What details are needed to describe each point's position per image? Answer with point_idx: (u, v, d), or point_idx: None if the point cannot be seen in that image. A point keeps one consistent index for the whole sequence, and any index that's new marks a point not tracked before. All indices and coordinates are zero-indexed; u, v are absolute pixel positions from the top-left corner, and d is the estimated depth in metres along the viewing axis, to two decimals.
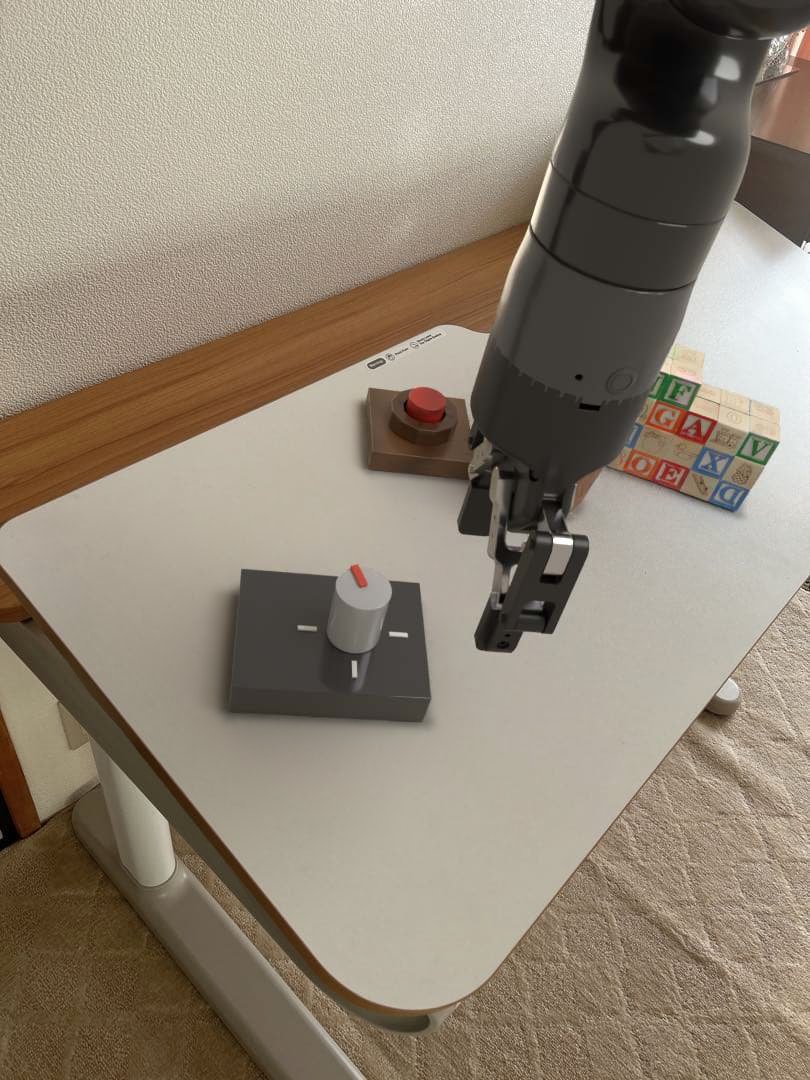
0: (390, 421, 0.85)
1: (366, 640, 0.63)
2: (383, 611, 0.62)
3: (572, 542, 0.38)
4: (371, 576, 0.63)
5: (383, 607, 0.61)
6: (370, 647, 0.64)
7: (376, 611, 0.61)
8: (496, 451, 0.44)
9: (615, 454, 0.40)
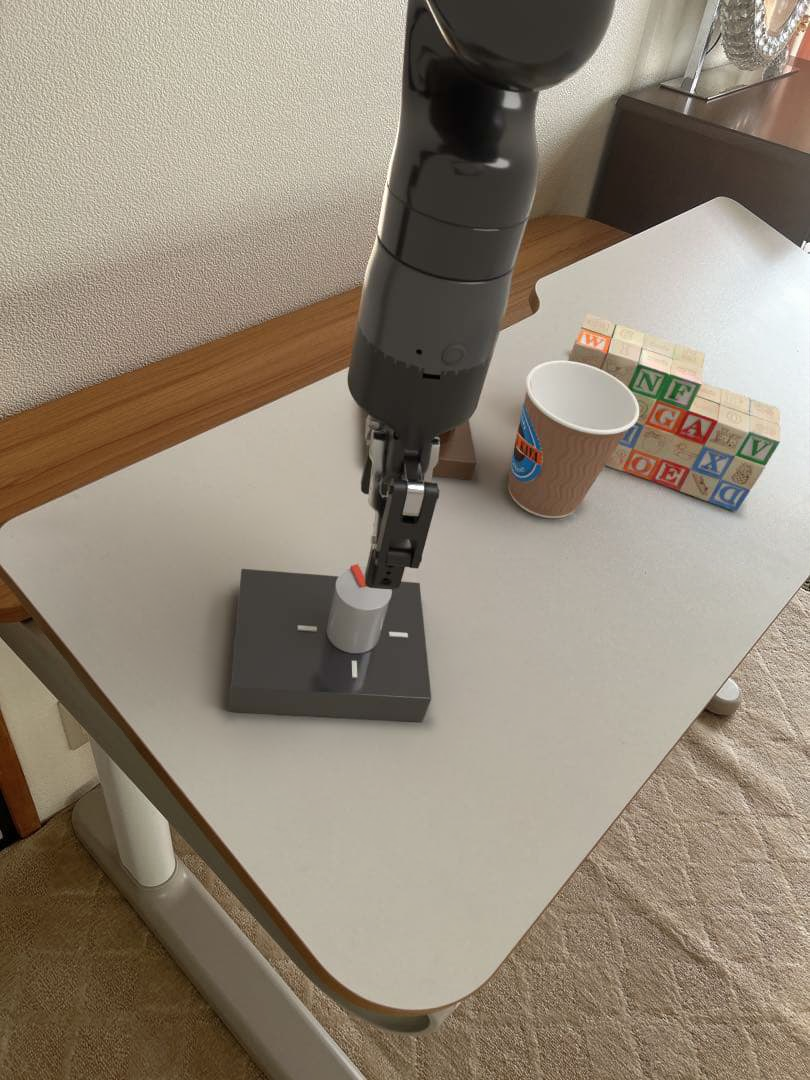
0: None
1: (366, 640, 0.63)
2: (383, 611, 0.62)
3: (424, 488, 0.47)
4: None
5: (383, 607, 0.61)
6: (370, 647, 0.64)
7: (376, 611, 0.61)
8: None
9: (464, 417, 0.48)
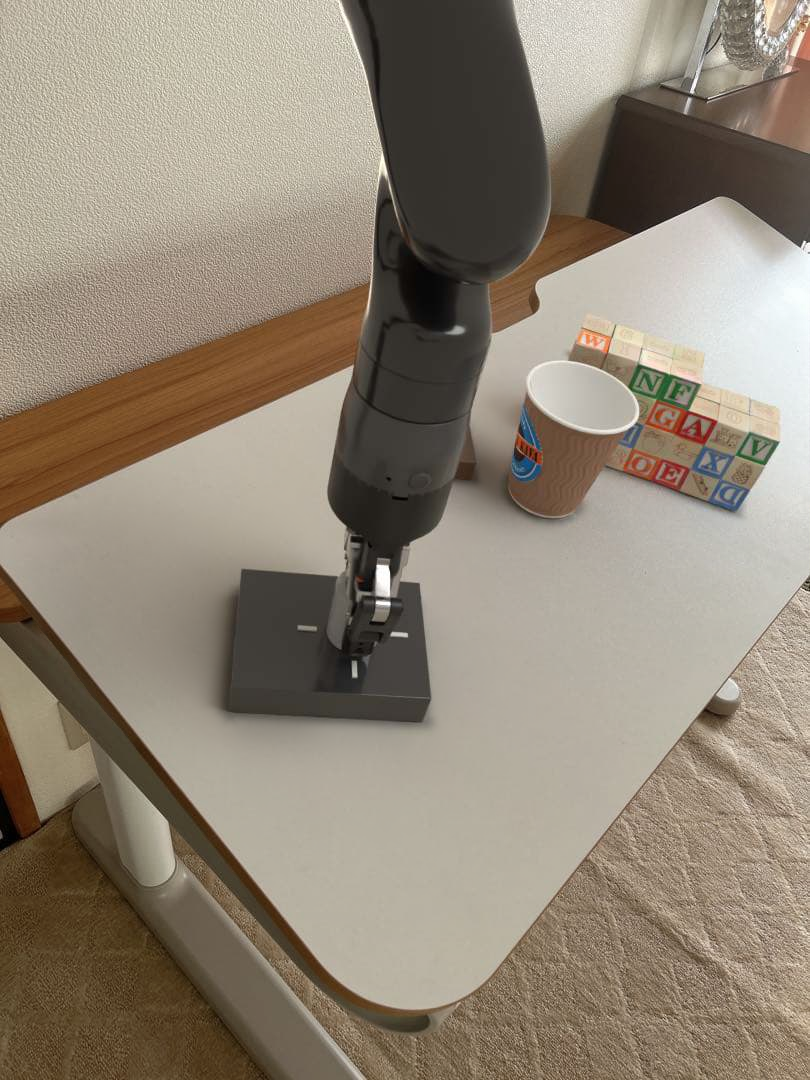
0: None
1: None
2: None
3: (390, 607, 0.54)
4: None
5: None
6: None
7: None
8: None
9: (430, 527, 0.54)
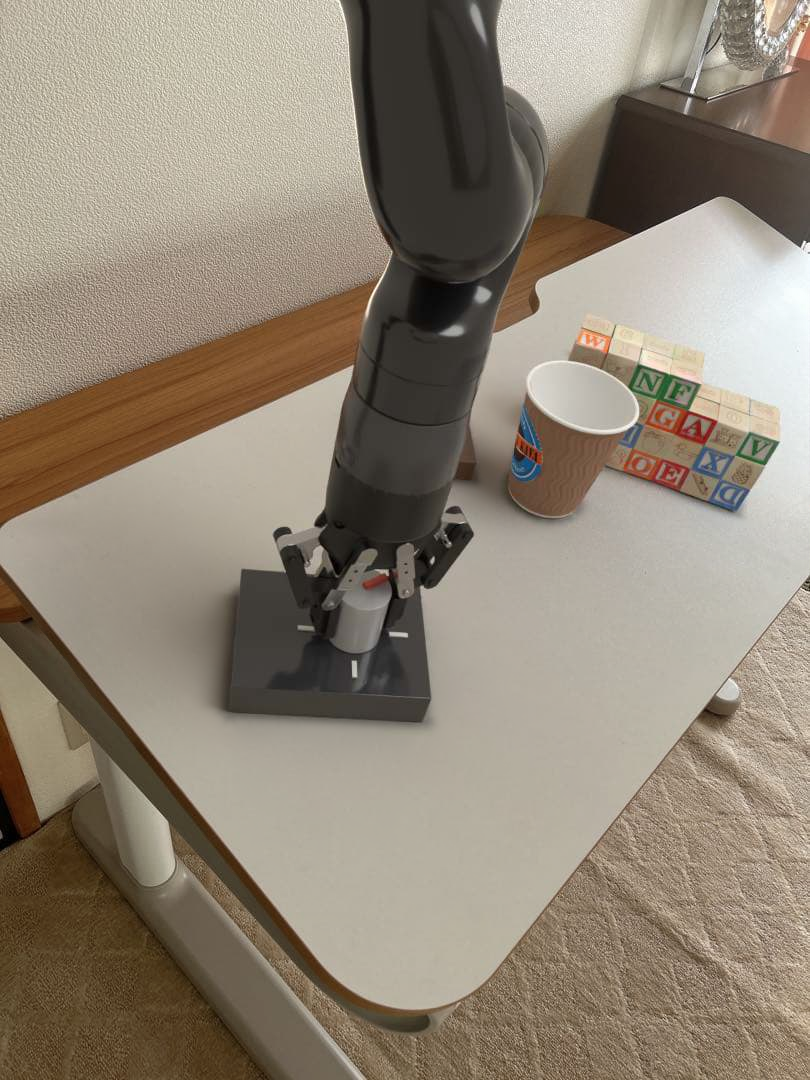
0: None
1: None
2: (348, 613, 0.61)
3: (282, 548, 0.55)
4: (381, 592, 0.62)
5: (348, 607, 0.61)
6: (336, 644, 0.64)
7: (341, 602, 0.61)
8: None
9: (358, 527, 0.53)
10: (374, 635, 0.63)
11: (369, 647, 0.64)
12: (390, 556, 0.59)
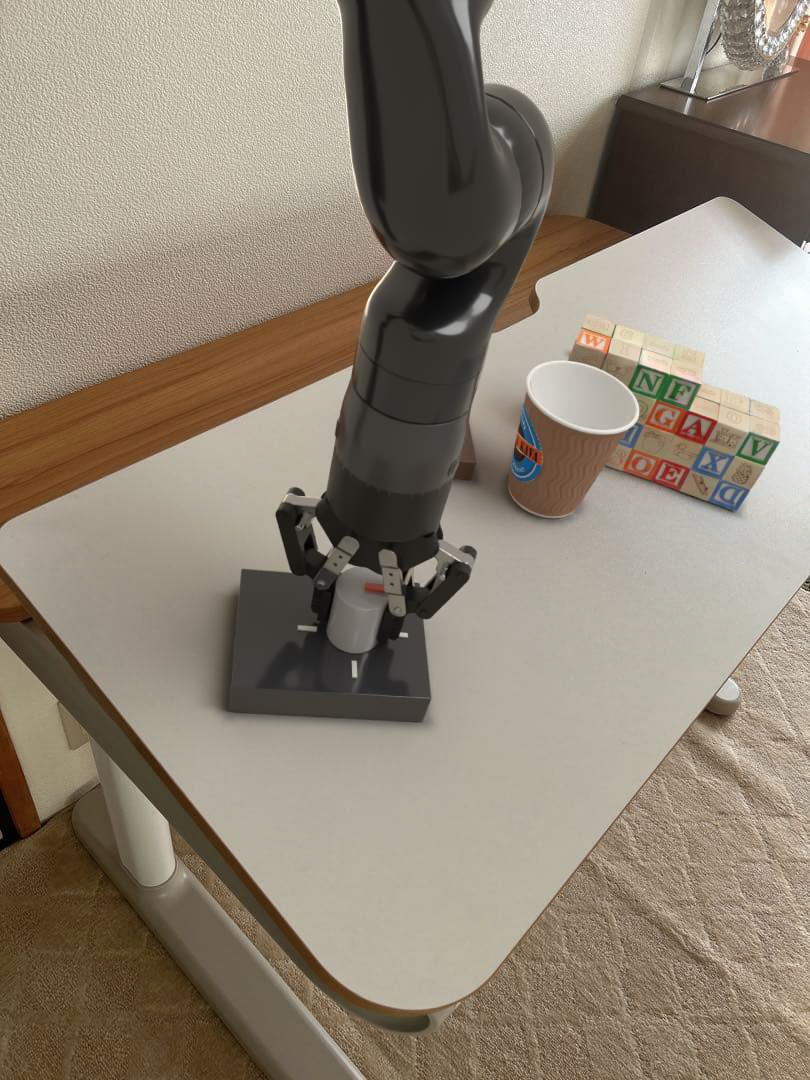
0: None
1: None
2: (336, 601, 0.62)
3: (282, 502, 0.58)
4: (375, 599, 0.61)
5: (336, 594, 0.61)
6: (327, 631, 0.65)
7: None
8: None
9: (332, 504, 0.54)
10: (357, 639, 0.63)
11: (352, 649, 0.64)
12: None
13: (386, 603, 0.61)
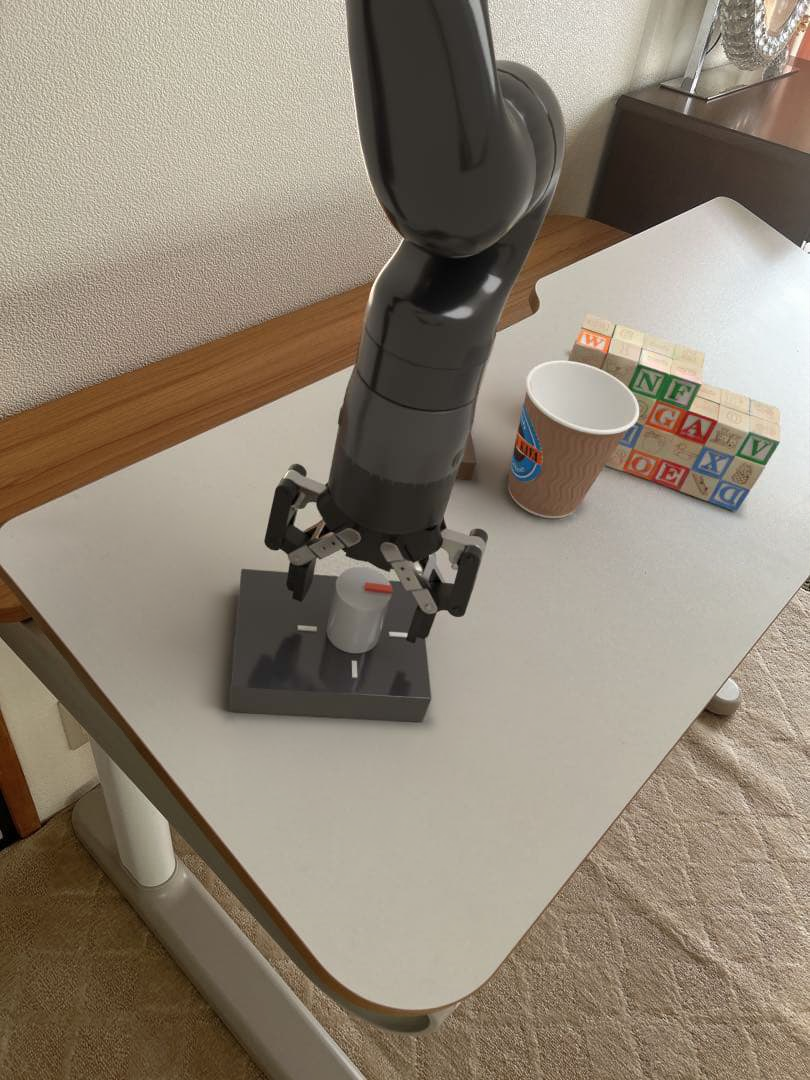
0: None
1: None
2: (336, 601, 0.62)
3: (286, 478, 0.56)
4: (376, 599, 0.61)
5: (336, 594, 0.61)
6: (327, 631, 0.64)
7: (334, 589, 0.62)
8: None
9: (334, 494, 0.53)
10: (357, 639, 0.63)
11: (352, 649, 0.64)
12: (382, 554, 0.57)
13: (386, 603, 0.61)
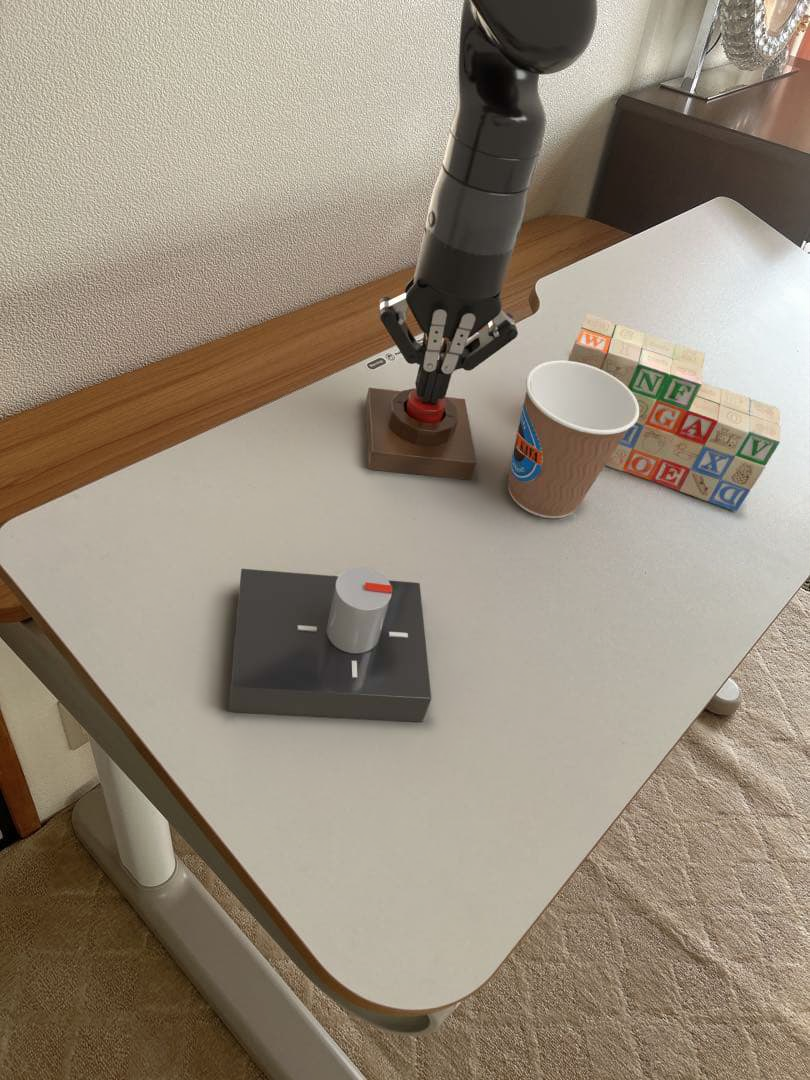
0: (390, 421, 0.85)
1: None
2: (336, 601, 0.62)
3: (381, 309, 0.76)
4: (376, 599, 0.61)
5: (336, 594, 0.61)
6: (327, 631, 0.64)
7: (334, 589, 0.62)
8: None
9: (432, 281, 0.72)
10: (357, 639, 0.63)
11: (352, 649, 0.64)
12: None
13: (386, 603, 0.61)
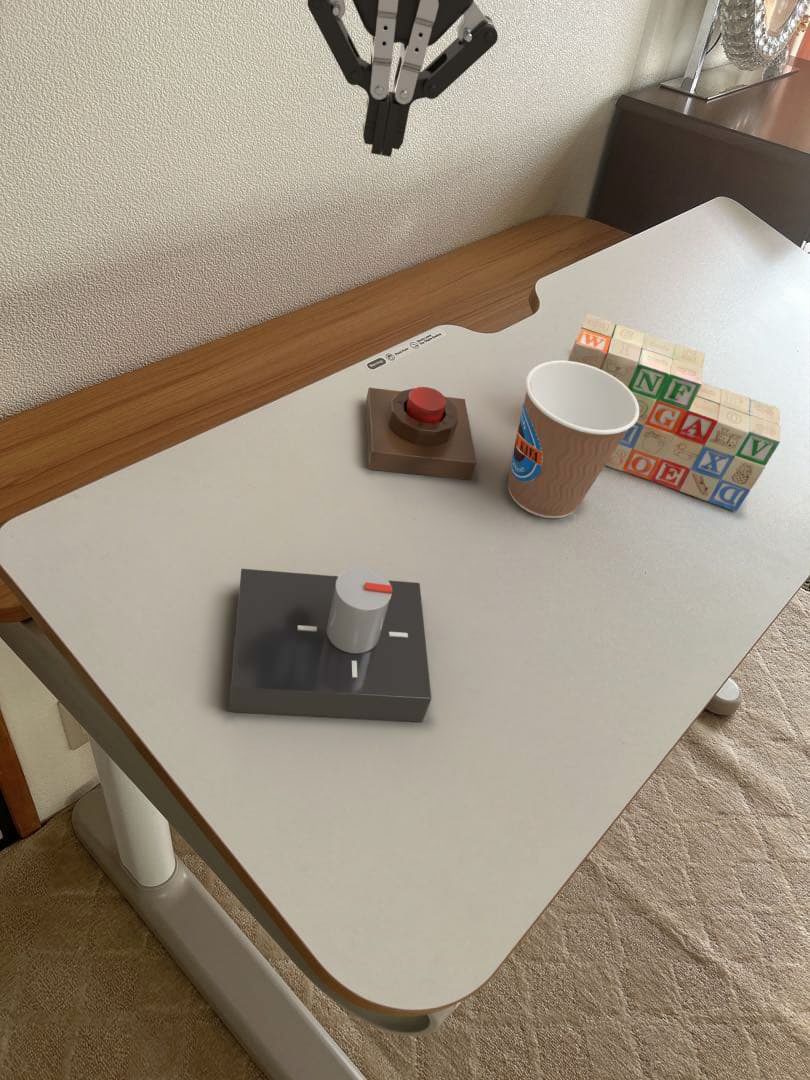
0: (390, 421, 0.85)
1: None
2: (336, 601, 0.62)
3: None
4: (376, 599, 0.61)
5: (336, 594, 0.61)
6: (327, 631, 0.64)
7: (334, 589, 0.62)
8: None
9: None
10: (357, 639, 0.63)
11: (352, 649, 0.64)
12: None
13: (386, 603, 0.61)
